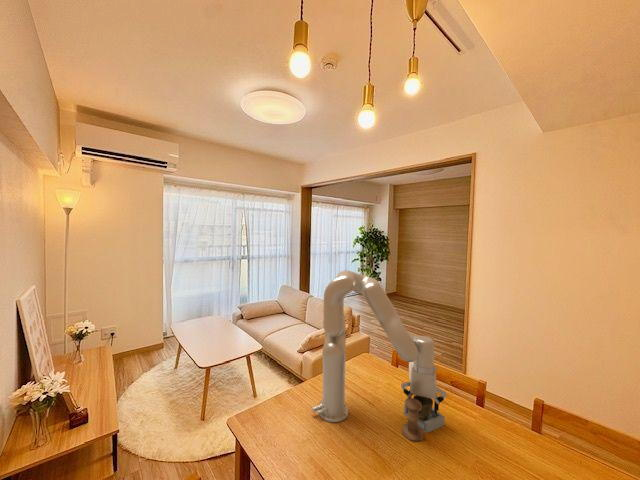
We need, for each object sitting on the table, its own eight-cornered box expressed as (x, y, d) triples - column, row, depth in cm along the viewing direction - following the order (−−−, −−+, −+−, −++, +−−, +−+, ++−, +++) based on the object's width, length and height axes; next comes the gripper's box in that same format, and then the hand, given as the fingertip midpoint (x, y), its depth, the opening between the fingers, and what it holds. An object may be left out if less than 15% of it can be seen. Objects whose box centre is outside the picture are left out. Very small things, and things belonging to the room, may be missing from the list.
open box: (426, 433, 99) (426, 424, 99) (404, 413, 109) (404, 404, 109) (444, 425, 103) (444, 416, 103) (420, 406, 114) (421, 398, 114)
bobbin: (412, 444, 93) (413, 412, 93) (397, 429, 100) (398, 399, 100) (427, 437, 96) (428, 406, 96) (412, 424, 103) (413, 394, 103)
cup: (434, 415, 107) (434, 396, 107) (430, 427, 101) (431, 406, 101) (415, 409, 111) (415, 390, 111) (411, 419, 105) (411, 400, 105)
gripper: (445, 367, 106) (444, 407, 106) (401, 359, 112) (401, 398, 112) (448, 376, 99) (447, 420, 99) (401, 368, 105) (400, 409, 105)
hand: (422, 408), depth 106 cm, fingers open, 9 cm apart
